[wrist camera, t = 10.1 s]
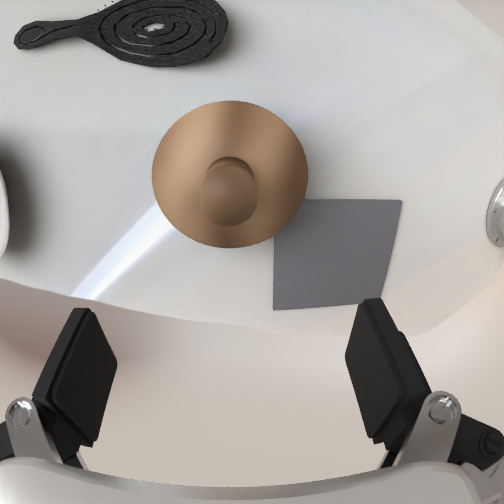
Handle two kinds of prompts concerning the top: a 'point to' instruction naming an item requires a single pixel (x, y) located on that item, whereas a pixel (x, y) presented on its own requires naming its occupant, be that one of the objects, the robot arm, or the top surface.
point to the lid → (229, 174)
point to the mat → (334, 253)
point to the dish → (3, 217)
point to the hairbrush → (140, 31)
